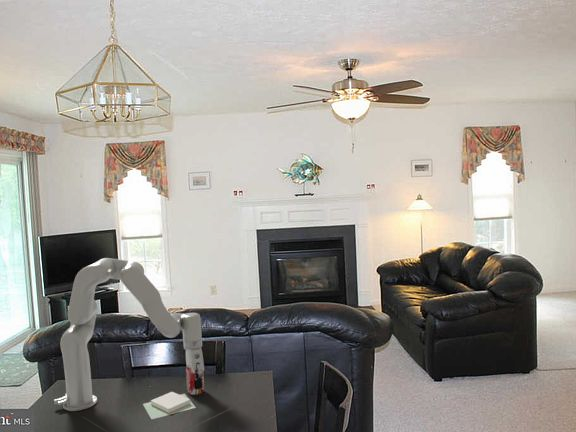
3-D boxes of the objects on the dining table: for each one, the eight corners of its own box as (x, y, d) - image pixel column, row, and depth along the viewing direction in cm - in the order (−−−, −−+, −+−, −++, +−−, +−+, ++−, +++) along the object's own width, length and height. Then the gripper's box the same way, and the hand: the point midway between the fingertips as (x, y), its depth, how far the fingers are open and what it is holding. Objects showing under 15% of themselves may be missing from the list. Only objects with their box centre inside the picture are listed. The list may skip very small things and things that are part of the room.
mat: (151, 420, 189) (151, 419, 189) (142, 404, 203) (142, 403, 203) (195, 408, 197) (195, 407, 197) (184, 394, 210) (184, 393, 210)
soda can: (201, 396, 207) (199, 368, 206) (184, 396, 209) (182, 367, 208) (207, 389, 214) (205, 361, 213) (191, 388, 216) (189, 361, 215)
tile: (168, 408, 193) (190, 399, 200) (150, 400, 201) (172, 391, 208) (169, 413, 193) (190, 404, 200) (151, 405, 201) (172, 396, 209)
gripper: (208, 347, 204) (211, 390, 205) (195, 336, 219) (197, 376, 221) (190, 351, 200) (193, 395, 202) (177, 339, 216) (180, 380, 217)
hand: (195, 384), depth 211 cm, fingers closed on soda can, 7 cm apart
